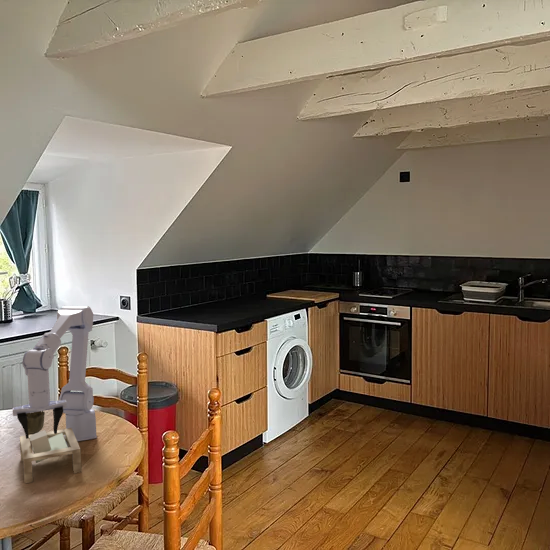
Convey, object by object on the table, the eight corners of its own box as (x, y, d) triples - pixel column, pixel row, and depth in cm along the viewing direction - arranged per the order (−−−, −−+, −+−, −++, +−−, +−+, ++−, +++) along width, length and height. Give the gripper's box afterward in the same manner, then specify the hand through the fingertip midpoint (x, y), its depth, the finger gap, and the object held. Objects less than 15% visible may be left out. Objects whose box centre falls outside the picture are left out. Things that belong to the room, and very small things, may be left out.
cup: (22, 442, 186) (21, 418, 185) (21, 434, 192) (19, 411, 191) (46, 438, 189) (45, 414, 188) (44, 430, 196) (43, 408, 195)
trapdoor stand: (72, 449, 180) (71, 427, 179) (81, 471, 164) (80, 448, 164) (20, 458, 173) (19, 436, 173) (24, 483, 157) (23, 459, 157)
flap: (66, 441, 176) (63, 432, 176) (72, 456, 166) (69, 446, 165) (34, 454, 172) (31, 444, 172) (38, 469, 162) (35, 459, 161)
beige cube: (49, 443, 170) (45, 429, 169) (51, 448, 166) (46, 434, 165) (33, 449, 168) (29, 435, 167) (35, 455, 164) (30, 441, 163)
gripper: (12, 397, 158) (15, 444, 160) (67, 390, 165) (69, 435, 167) (11, 390, 165) (13, 435, 166) (64, 383, 171) (66, 427, 173)
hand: (41, 434), depth 167 cm, fingers open, 7 cm apart
